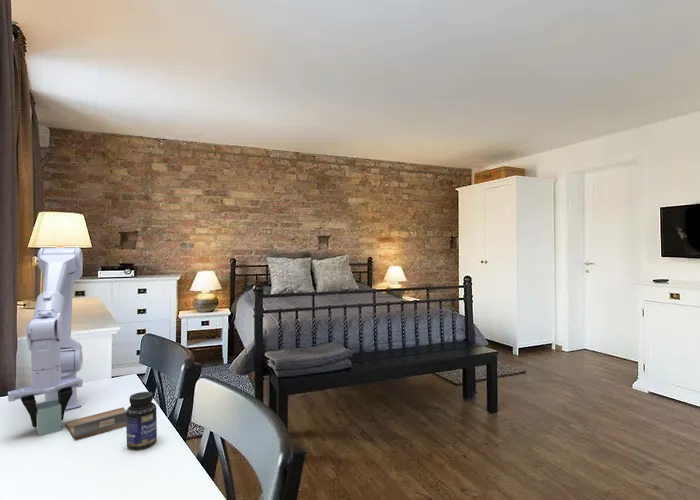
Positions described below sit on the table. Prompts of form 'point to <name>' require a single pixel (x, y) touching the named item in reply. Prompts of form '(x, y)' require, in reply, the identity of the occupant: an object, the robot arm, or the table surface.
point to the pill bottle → (141, 421)
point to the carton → (48, 417)
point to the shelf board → (97, 423)
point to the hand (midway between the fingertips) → (47, 422)
